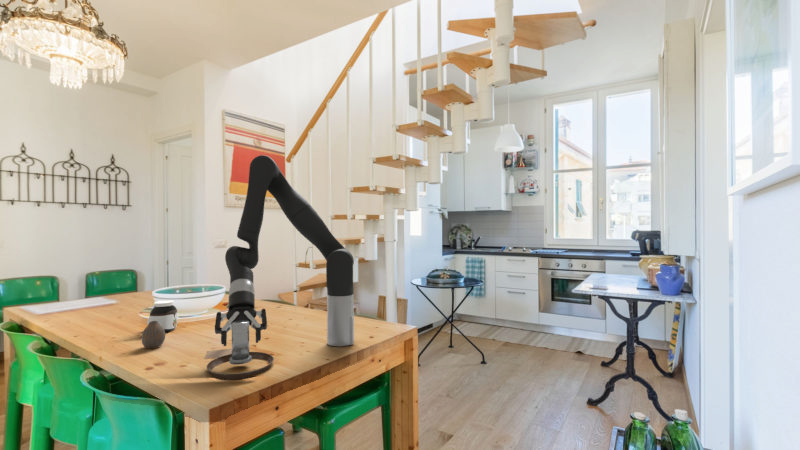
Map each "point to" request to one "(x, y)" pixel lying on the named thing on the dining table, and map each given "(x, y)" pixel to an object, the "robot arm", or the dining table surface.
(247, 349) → the metal cylinder canister
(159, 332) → the dark brown oval lump
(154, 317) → the spread jar
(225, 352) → the stand
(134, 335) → the dining table surface
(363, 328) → the dining table surface
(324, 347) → the dining table surface
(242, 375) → the brown shallow round tray
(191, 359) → the dining table surface
